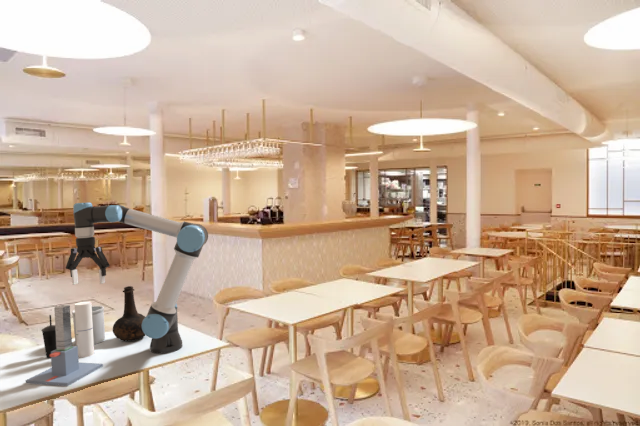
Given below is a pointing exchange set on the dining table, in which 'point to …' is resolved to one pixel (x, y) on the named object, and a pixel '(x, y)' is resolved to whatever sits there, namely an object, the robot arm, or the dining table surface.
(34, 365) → the dining table surface
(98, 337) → the utensil holder
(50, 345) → the drinking cup
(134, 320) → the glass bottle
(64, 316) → the column
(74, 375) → the stand
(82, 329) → the cylindrical container
